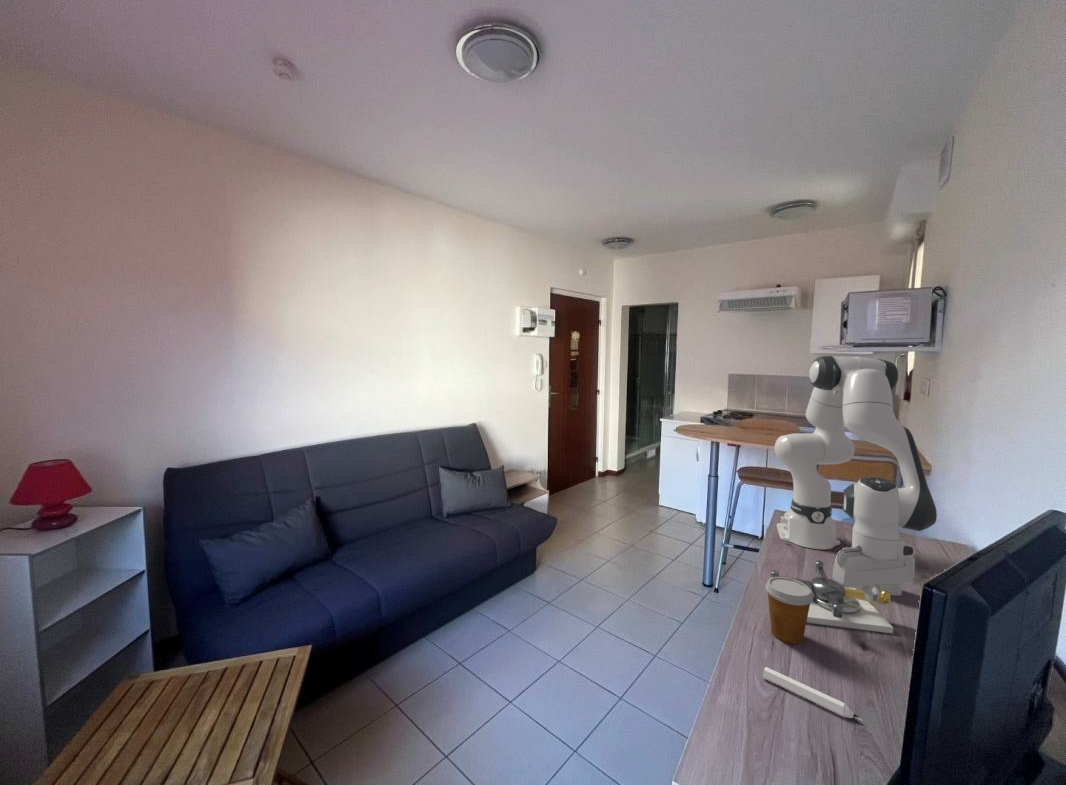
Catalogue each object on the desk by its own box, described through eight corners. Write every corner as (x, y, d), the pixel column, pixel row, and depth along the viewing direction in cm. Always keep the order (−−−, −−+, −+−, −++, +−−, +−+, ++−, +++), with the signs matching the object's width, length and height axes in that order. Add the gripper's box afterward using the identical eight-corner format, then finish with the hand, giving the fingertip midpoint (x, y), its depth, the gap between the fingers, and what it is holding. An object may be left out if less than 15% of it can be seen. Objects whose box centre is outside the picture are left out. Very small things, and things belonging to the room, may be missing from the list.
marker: (862, 730, 75) (763, 681, 86) (864, 718, 76) (766, 671, 87) (862, 722, 74) (762, 674, 85) (864, 710, 75) (765, 664, 86)
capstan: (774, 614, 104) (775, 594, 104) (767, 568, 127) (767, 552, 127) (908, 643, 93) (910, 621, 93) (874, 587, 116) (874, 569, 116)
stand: (774, 584, 122) (775, 572, 122) (854, 593, 117) (855, 580, 117) (798, 621, 104) (798, 607, 104) (893, 633, 100) (893, 618, 99)
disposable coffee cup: (819, 651, 94) (821, 599, 93) (772, 646, 95) (774, 594, 95) (800, 625, 103) (802, 577, 102) (758, 621, 105) (759, 574, 104)
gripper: (850, 553, 99) (847, 611, 100) (922, 547, 102) (918, 603, 103) (826, 542, 105) (824, 596, 106) (895, 537, 109) (892, 589, 109)
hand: (871, 600), depth 104 cm, fingers closed
